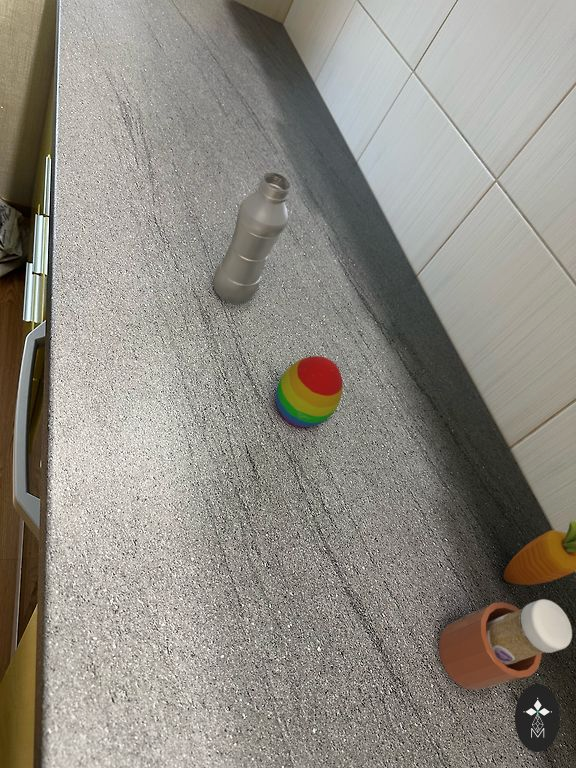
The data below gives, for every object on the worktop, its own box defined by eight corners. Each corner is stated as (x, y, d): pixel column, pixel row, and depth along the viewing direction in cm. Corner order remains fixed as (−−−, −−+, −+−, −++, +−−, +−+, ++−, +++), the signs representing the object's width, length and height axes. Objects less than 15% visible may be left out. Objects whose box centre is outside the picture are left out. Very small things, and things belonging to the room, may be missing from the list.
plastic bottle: (205, 275, 85) (244, 160, 70) (247, 277, 88) (293, 167, 73) (214, 308, 82) (258, 195, 67) (258, 309, 85) (308, 201, 70)
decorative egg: (301, 446, 73) (333, 404, 66) (256, 403, 75) (282, 357, 67) (336, 414, 79) (369, 372, 71) (294, 374, 80) (322, 329, 73)
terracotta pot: (480, 618, 68) (524, 599, 62) (502, 685, 64) (552, 672, 58) (430, 624, 66) (471, 604, 60) (450, 694, 62) (496, 681, 56)
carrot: (481, 564, 73) (565, 518, 62) (508, 555, 75) (593, 509, 64) (501, 603, 71) (591, 563, 59) (528, 593, 73) (620, 552, 62)
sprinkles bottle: (450, 663, 63) (532, 634, 53) (456, 624, 66) (534, 589, 56) (486, 682, 63) (574, 657, 53) (490, 642, 66) (574, 611, 56)
